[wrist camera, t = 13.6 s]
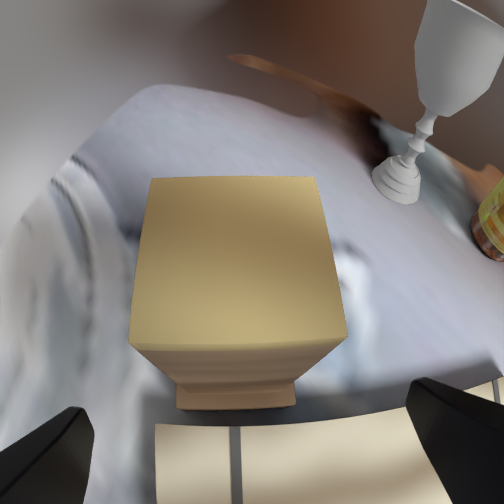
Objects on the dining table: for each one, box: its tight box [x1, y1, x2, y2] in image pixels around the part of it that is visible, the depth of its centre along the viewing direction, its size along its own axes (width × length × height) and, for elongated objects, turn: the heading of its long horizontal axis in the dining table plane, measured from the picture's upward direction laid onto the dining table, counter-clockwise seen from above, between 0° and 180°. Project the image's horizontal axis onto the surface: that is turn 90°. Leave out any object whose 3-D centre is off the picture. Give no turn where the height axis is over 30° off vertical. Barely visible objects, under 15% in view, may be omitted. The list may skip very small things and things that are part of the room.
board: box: [155, 376, 504, 504], centre depth 13 cm, size 10×25×3 cm, turn 92°
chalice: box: [372, 0, 504, 205], centre depth 19 cm, size 7×7×18 cm
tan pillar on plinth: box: [128, 176, 348, 411], centre depth 12 cm, size 5×6×13 cm
